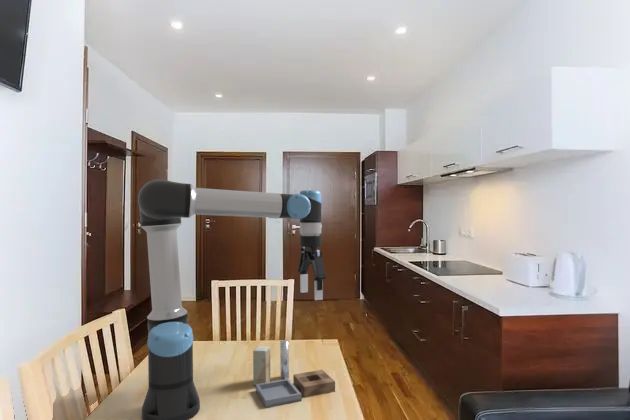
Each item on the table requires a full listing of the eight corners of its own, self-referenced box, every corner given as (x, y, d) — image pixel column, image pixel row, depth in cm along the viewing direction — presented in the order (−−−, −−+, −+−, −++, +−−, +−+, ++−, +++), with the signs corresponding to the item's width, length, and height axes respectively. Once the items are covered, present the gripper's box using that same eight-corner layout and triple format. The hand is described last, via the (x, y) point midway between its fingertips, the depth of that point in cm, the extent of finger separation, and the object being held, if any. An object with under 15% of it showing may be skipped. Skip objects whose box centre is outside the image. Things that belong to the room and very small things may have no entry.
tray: (265, 407, 115) (265, 400, 115) (255, 390, 126) (255, 384, 126) (301, 400, 119) (301, 393, 119) (288, 385, 130) (288, 378, 130)
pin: (281, 379, 134) (281, 343, 134) (279, 376, 136) (279, 340, 136) (290, 378, 135) (289, 342, 135) (287, 375, 138) (287, 339, 138)
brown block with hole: (304, 397, 121) (304, 387, 121) (293, 383, 131) (293, 374, 131) (335, 391, 125) (335, 381, 125) (322, 378, 134) (322, 369, 134)
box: (265, 386, 129) (265, 351, 129) (252, 385, 130) (252, 350, 130) (270, 379, 134) (270, 346, 134) (258, 378, 135) (258, 345, 135)
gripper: (335, 236, 132) (336, 302, 132) (307, 232, 155) (308, 288, 155) (314, 237, 129) (314, 304, 129) (289, 233, 152) (289, 290, 152)
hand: (311, 295), depth 142 cm, fingers open, 13 cm apart
